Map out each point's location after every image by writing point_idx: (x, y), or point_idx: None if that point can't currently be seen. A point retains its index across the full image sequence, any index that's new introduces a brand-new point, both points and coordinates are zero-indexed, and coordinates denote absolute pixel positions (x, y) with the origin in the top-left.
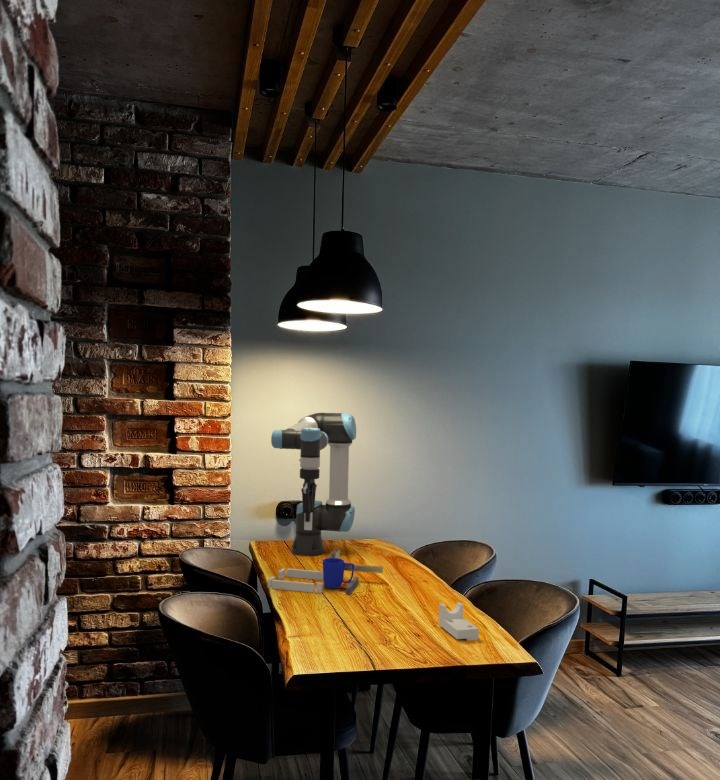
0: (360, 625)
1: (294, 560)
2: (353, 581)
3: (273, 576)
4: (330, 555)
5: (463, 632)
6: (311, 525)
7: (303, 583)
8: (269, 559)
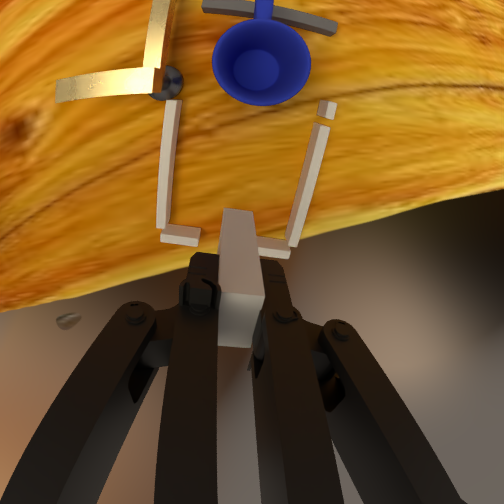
0: (498, 64)
1: (31, 229)
2: None
3: None
4: (153, 87)
5: None
6: (241, 225)
7: (321, 159)
8: (50, 281)
